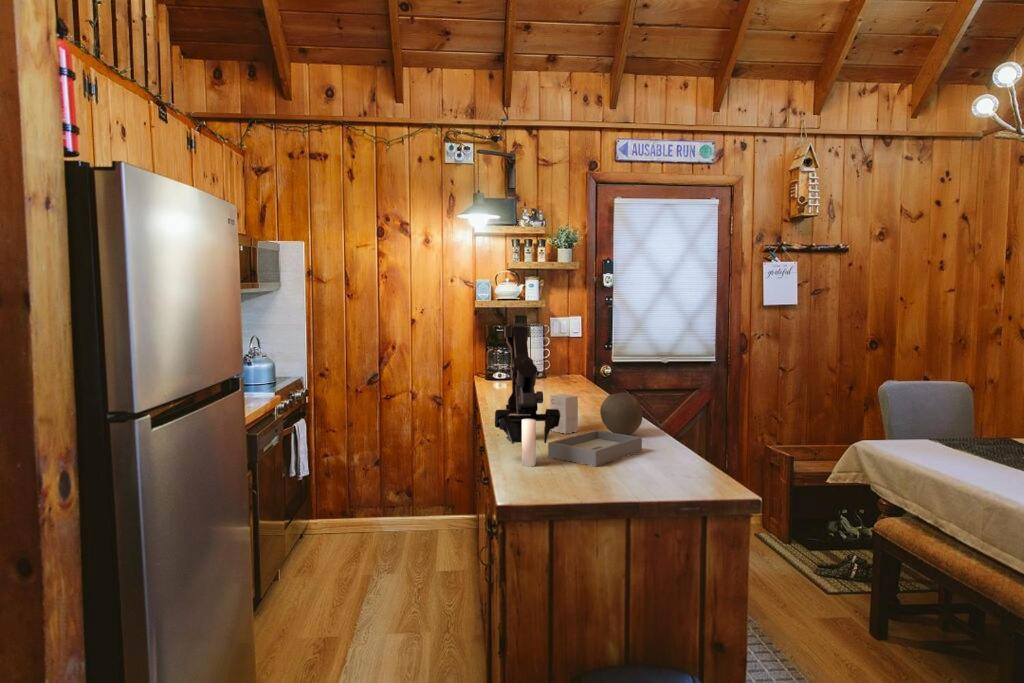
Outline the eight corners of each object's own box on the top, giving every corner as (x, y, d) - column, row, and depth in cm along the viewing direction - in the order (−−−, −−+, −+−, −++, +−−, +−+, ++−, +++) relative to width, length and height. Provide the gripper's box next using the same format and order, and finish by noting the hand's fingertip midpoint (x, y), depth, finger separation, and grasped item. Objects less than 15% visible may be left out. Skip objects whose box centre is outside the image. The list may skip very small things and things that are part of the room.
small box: (578, 432, 233) (578, 395, 232) (565, 434, 229) (565, 397, 228) (562, 428, 239) (562, 393, 238) (549, 431, 235) (549, 395, 234)
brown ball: (609, 430, 236) (610, 389, 235) (647, 434, 229) (648, 391, 228) (594, 437, 224) (594, 393, 223) (633, 441, 217) (633, 396, 216)
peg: (519, 464, 188) (519, 419, 187) (532, 462, 189) (532, 418, 188) (524, 467, 184) (524, 421, 183) (537, 466, 185) (537, 420, 184)
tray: (548, 457, 195) (548, 442, 195) (596, 443, 214) (596, 430, 214) (595, 466, 184) (595, 451, 184) (641, 451, 203) (641, 437, 202)
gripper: (495, 381, 188) (497, 427, 178) (559, 381, 189) (565, 426, 179) (493, 404, 196) (495, 449, 186) (555, 404, 198) (560, 448, 187)
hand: (529, 442), depth 184 cm, fingers open, 9 cm apart
